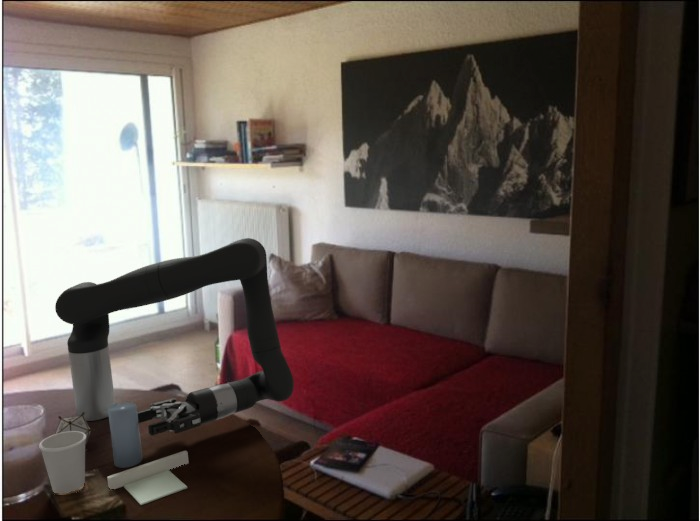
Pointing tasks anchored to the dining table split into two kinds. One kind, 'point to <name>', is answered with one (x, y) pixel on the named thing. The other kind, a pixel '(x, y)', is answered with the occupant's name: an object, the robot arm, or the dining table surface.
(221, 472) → the dining table surface
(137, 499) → the coaster
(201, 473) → the dining table surface
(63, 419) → the grey faceted polyhedron
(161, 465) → the white long bar
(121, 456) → the pale blue cylinder
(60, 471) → the dixie cup
